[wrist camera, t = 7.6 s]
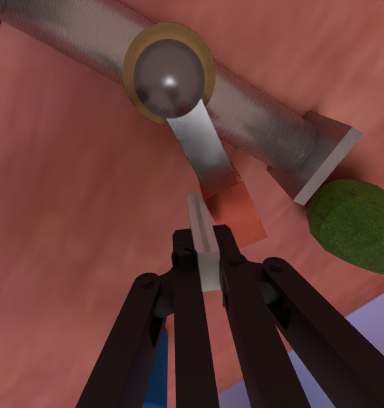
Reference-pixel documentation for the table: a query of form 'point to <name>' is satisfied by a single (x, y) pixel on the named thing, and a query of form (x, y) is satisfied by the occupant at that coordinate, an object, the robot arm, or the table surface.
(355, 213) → the fruit
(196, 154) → the lever
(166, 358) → the beverage can
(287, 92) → the table surface
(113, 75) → the valve body
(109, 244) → the table surface
